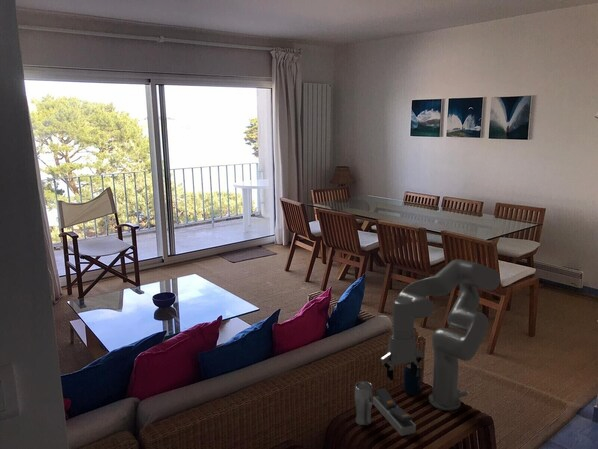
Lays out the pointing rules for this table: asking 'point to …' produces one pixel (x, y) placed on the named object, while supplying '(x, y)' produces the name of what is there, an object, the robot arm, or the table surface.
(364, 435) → the table surface
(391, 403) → the outlet rocker
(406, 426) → the power strip
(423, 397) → the table surface
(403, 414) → the outlet rocker
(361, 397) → the beer glass
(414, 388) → the soda can
